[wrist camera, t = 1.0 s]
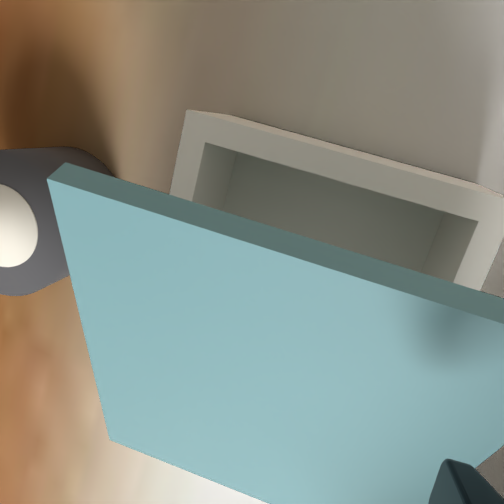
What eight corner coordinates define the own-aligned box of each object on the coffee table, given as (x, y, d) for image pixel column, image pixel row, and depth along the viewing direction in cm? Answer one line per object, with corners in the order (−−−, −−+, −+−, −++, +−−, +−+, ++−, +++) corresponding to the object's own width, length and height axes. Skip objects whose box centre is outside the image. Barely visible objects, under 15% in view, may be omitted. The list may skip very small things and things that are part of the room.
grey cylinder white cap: (135, 165, 21) (75, 174, 16) (114, 279, 22) (55, 315, 18) (24, 132, 21) (-61, 132, 17) (13, 244, 23) (-67, 271, 19)
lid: (603, 329, 8) (611, 358, 7) (378, 528, 16) (376, 546, 16) (65, 162, 9) (46, 178, 9) (118, 425, 18) (109, 439, 17)
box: (476, 183, 18) (519, 202, 13) (372, 436, 21) (375, 525, 16) (229, 114, 19) (186, 109, 14) (171, 363, 23) (121, 424, 18)
